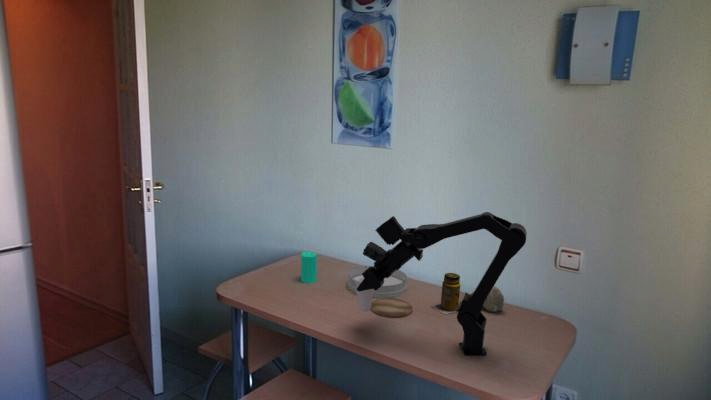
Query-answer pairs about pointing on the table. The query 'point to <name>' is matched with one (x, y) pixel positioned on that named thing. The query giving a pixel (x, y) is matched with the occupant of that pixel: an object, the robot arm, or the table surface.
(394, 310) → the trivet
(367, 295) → the smoothie
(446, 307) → the condiment
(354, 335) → the table surface
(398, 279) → the dish
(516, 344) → the table surface
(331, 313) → the table surface
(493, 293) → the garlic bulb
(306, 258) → the candle
